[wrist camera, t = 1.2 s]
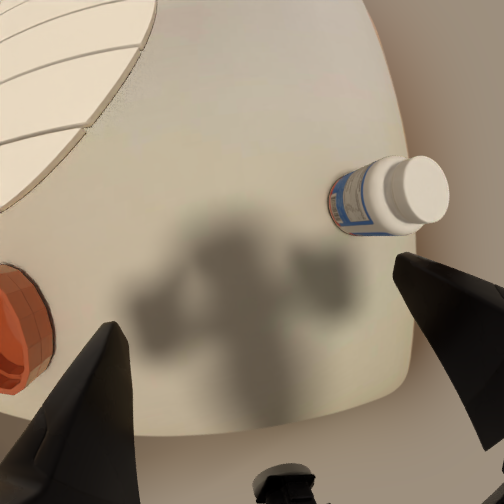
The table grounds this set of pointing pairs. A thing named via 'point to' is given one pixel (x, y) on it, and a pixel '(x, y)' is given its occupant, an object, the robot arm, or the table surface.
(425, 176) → the pill bottle
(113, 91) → the round slatted board
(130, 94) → the table surface
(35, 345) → the bowl
